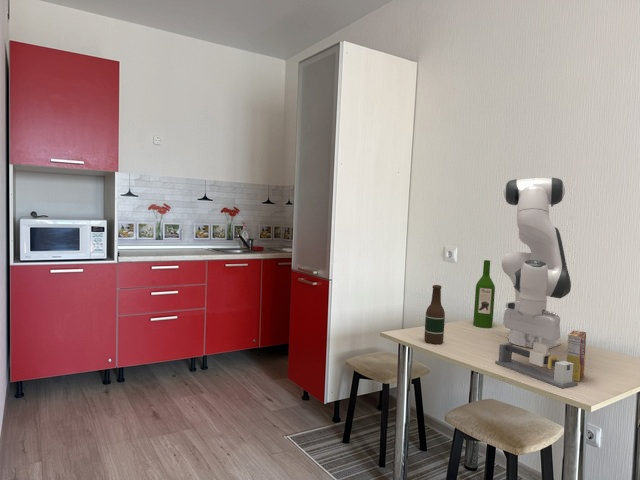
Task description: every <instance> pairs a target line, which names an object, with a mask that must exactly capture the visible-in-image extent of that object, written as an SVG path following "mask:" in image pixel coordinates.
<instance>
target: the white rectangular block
mask: <svg viewBox="0 0 640 480" xmlns="http://www.w3.org/2000/svg"><path fill="white" fill-rule="evenodd" d="M548 348H549V345H546V344H542V343H539V342H536V341H535V342H533V348H532V350H529V351H530V358H528V363H530V364H532V365H533V364H534V365H536V366H538V367H542V368H545V367H548V364H546V363H544V357H552V353H549V349H550V348H549V349H548Z"/></svg>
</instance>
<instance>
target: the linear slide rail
mask: <svg viewBox="0 0 640 480" xmlns="http://www.w3.org/2000/svg"><path fill="white" fill-rule="evenodd" d="M530 351H531V350H527V349H524V348H521V347H517V346H516V345H514V344H513V343H511V342H506V343H499V350H498V360H495V362H494V364H496V365H499V366H501V367H503V368H507V369H509V370H512V371H514V372H517V373H519V374H522V375H524V376H528V377H530V378H533V379H535V380H538V381H541V382H544V383H546V384H549V385H552V386H555V387H556V388H560V389H562V390H563V389H566V388H567V389H568V388H571V387H576V386H578V383H579V382H576V381H572V377H573V364H574V363H570V362H567V360H558V358H559V357H558V356H557V355H553V356H552V355H551V357H544V363H546V364H548V366H547V369H550V370H551V369H554V373H551V372H549V371H546V370H542V369H540V368H537V367H535V366H531V365H528V364H525V363H524V362H521V361H518V360H514V359H512V356H513V354H517V355H519V356H522V357H525V358H528V359H529V358H530Z"/></svg>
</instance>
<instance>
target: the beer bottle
mask: <svg viewBox="0 0 640 480" xmlns="http://www.w3.org/2000/svg"><path fill="white" fill-rule="evenodd" d="M431 289H432V294H431V301H430V304H429V306H428V307H427V308H426V311H425V319H424V321H425V322H424V323H425V324H424V334H423V335H424V338H423V339H424V342H425V341H426V343H427V344H430V343H431V345H441V344H443V343H444V337H445V336H444V335H445V323H446V322H445V320H446V317H445V316H446V314H445V313H446V312H445V309H444V307H443V306H442V285H440V284H433V285H432V288H431Z"/></svg>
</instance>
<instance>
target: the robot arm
mask: <svg viewBox="0 0 640 480" xmlns="http://www.w3.org/2000/svg"><path fill="white" fill-rule="evenodd" d="M565 194H566V186H565V184H564V182H563V180H562V179H561V178H557V177H552V178H550V177H533V178H521V179H516V178H515V179H511V180H508V181H507V183H506V184H505V186H504V190H503V196H504V199H505V202H506V203H507V204H508V205H511V206H515V207H516V206H517V207H516V225H517V228H518V239H519V240H520V241H521V243H523V244H524V245H526V246H527V247H528V249H529V250H530V252H524V251H523V252H522V251H513V252H512V251H511V252H507V253H506V254H505V255H504V256H503V257H502V260H501V268H502V271H503V272H504V273H505V274H506V275H507V276H508V277H509V279H510V280H511V283H512V285H513V288H514V292H515V294H514V296H515V300H514V301H509V302H506V303H505V308H506V309H505V310H504V312H503V313H504V314H503V321H502V322H503V323H502V324H503V327H504V328H505V329H510V330H509V335H507V339H508V343H511V344H513V345H514V346H519V347H525V348H531V349H533V342H535V341H536V342H539V343H542V344H546V345H549V348H548V350H549V349H551V348H555V347H558V346H560V345H561V344H562V343H561V341H559V339H560V338H561V325H560V323H561V317H560V316H559V315H558V314H557V313H556V312H554V311H549V310H547V302H548V298H547V297H550V298H554V299H562V298H564V297H566V296H568V295H569V294H570V293H571V288H572V281H571V280H572V279H571V277H570V273H569V271H568V270H569V269H568V266H567V260H566V256H565V251H564V245H563V241H562V236H561V233H560V230H559V228H557V227H556V226H554V225H553V223H552V222H551V220H550V207H551V208H553V207H554V206H555V205H558V204H560V203H561V202H562V201H563V199H564V197H565ZM549 205H550V206H549Z"/></svg>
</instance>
